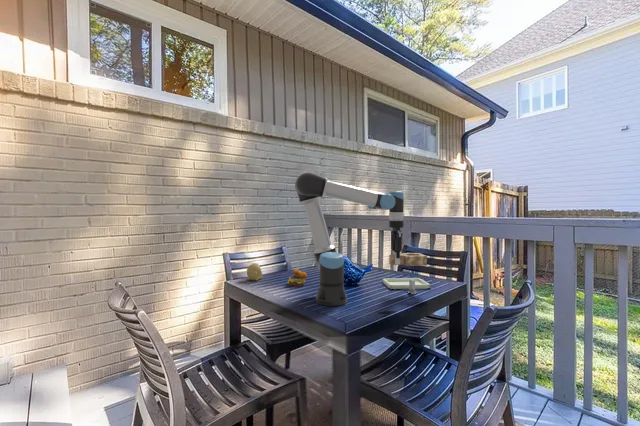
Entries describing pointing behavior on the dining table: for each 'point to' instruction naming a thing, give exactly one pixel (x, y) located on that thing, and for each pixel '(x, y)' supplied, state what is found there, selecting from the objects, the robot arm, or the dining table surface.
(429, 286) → the tray
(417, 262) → the collar
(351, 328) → the dining table surface
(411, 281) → the post
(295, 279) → the cheeseburger
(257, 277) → the pale yellow lumpy ball
